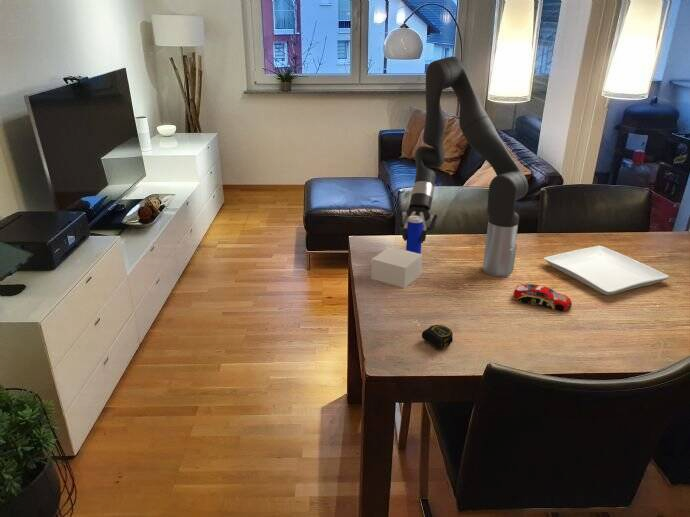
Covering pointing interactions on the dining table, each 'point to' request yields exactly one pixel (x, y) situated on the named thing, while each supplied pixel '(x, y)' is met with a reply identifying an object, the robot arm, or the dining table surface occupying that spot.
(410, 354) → the dining table surface
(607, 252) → the square plate
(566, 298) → the race car
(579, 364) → the dining table surface
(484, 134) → the robot arm
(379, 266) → the plain grey cuboid
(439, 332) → the tape measure
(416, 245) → the beverage can
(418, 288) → the dining table surface
